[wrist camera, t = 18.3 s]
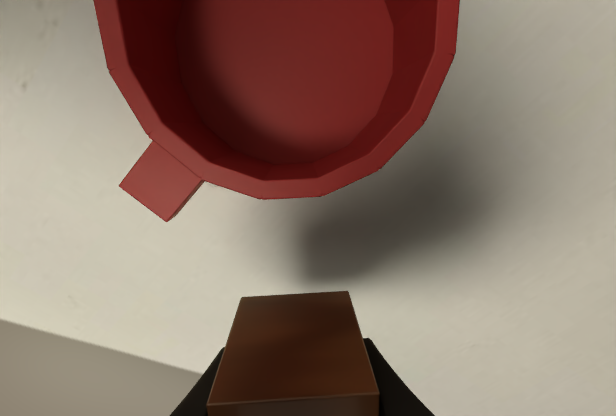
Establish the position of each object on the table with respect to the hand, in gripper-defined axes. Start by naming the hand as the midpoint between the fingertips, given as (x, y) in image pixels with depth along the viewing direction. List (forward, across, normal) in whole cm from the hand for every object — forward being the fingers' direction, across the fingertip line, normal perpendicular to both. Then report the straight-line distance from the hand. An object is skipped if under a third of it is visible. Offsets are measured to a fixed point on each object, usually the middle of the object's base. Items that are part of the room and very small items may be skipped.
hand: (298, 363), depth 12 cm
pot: (+8, 0, -12) cm, 14 cm away
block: (+1, 0, 0) cm, 1 cm away
